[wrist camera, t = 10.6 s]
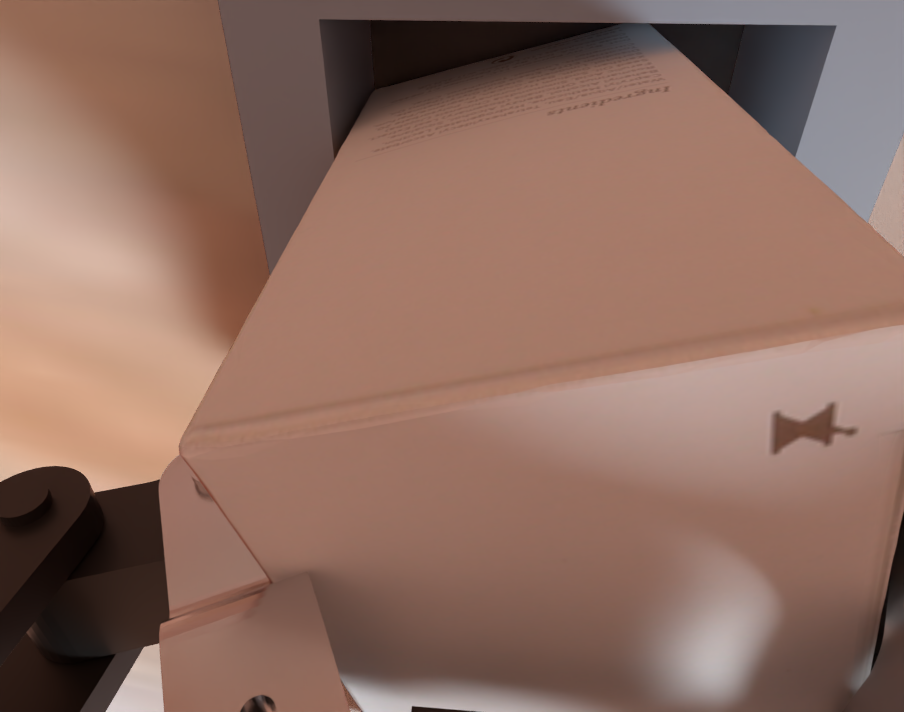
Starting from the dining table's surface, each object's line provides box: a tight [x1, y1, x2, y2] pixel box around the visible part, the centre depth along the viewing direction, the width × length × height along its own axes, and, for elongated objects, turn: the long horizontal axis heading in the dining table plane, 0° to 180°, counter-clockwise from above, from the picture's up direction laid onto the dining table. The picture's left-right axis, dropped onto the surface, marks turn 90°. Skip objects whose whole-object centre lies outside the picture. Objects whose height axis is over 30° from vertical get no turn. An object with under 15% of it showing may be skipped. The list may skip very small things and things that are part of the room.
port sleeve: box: [218, 0, 904, 275], centre depth 14 cm, size 10×12×4 cm
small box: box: [179, 23, 904, 712], centre depth 11 cm, size 8×6×10 cm
